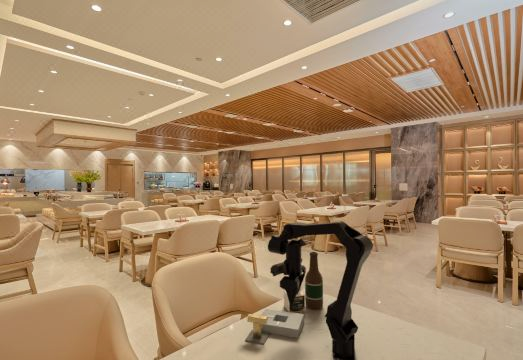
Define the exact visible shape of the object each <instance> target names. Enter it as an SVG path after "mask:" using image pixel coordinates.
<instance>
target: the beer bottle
mask: <svg viewBox="0 0 523 360" xmlns="http://www.w3.org/2000/svg"><path fill="white" fill-rule="evenodd" d="M318 256H319V254H318V252H316V251H310V252H309V267H308V271H306V273H305V277H304V279H305V280H304V289H305V292H304V295H305V307H306V308H307V309H309V310H312V311H313V310H314V311H316V310H317V311H318V310H321V309H322V308H323V306H324V280H323V276H322V274H321V272H320V271H319V262H318V261H319V259H318Z"/></svg>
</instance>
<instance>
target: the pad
mask: <svg viewBox="0 0 523 360" xmlns="http://www.w3.org/2000/svg"><path fill="white" fill-rule="evenodd" d="M270 335H271V333H268V332H262V337H261V338H260V339H255V338H254V337H253V329H251V330H250V332H249V333H248V335H247V336H246V338H244V342H248V343H253V344H260V345H265V343H266V341H267V340H268V338H269V337H270Z"/></svg>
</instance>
